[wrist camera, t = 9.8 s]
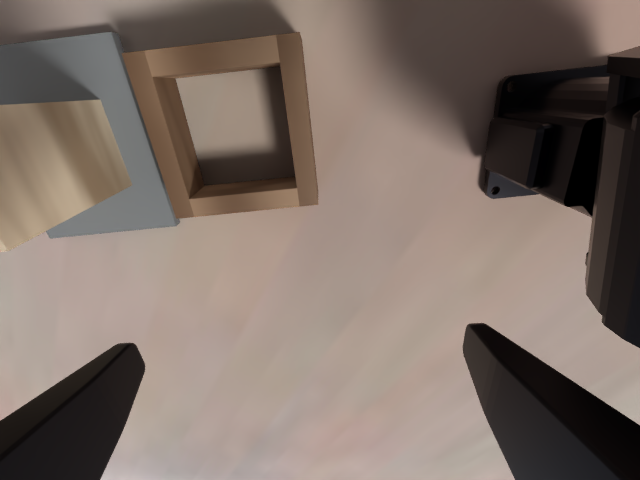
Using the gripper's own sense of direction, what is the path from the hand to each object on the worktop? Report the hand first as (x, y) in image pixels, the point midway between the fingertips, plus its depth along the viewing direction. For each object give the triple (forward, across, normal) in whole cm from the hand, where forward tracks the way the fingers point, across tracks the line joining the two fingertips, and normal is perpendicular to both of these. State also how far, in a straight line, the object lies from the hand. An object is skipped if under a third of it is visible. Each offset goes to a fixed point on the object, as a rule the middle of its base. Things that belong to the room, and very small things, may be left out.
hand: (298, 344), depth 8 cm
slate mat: (+12, +12, -4) cm, 17 cm away
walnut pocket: (+12, +4, -4) cm, 13 cm away
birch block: (+11, +12, -4) cm, 17 cm away
